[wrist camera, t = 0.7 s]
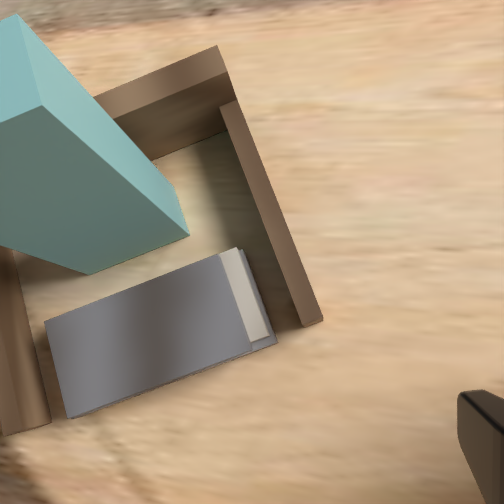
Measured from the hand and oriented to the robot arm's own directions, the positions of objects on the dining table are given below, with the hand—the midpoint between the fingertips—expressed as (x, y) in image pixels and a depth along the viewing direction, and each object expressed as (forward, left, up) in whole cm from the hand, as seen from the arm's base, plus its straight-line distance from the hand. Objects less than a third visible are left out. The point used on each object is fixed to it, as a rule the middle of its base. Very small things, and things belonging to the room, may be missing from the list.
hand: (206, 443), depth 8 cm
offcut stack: (-3, +6, -16) cm, 17 cm away
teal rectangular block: (-1, +12, -16) cm, 19 cm away
